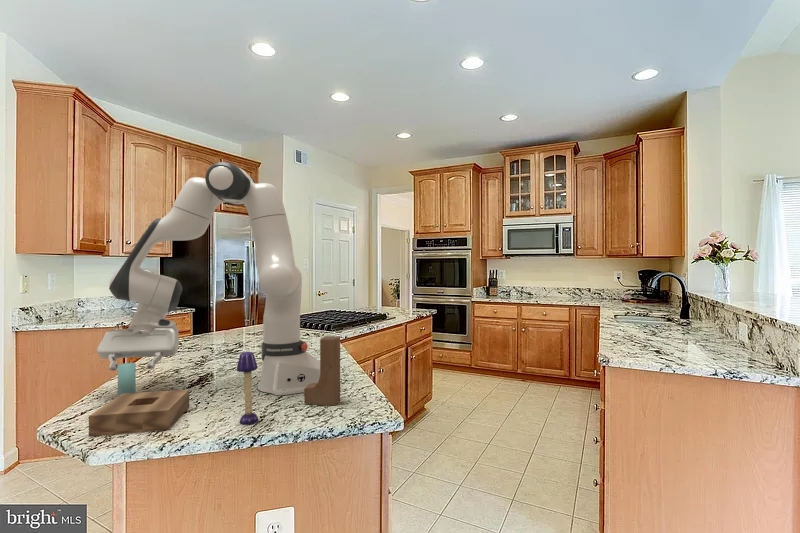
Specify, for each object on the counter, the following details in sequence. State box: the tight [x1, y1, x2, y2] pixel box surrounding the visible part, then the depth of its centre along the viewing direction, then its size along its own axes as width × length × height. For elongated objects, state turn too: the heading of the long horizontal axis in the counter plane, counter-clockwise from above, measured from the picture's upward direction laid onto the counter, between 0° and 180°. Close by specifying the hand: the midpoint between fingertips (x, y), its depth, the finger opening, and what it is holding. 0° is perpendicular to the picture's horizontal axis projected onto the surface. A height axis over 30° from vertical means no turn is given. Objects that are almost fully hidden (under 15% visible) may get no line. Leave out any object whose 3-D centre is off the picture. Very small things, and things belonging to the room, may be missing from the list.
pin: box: [117, 362, 137, 397], centre depth 109 cm, size 4×4×11 cm
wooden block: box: [303, 335, 341, 406], centre depth 110 cm, size 9×4×18 cm, turn 82°
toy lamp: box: [236, 351, 259, 426], centre depth 96 cm, size 5×5×17 cm
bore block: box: [88, 389, 190, 437], centre depth 98 cm, size 16×16×4 cm
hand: (131, 368), depth 112 cm, fingers open, 8 cm apart
